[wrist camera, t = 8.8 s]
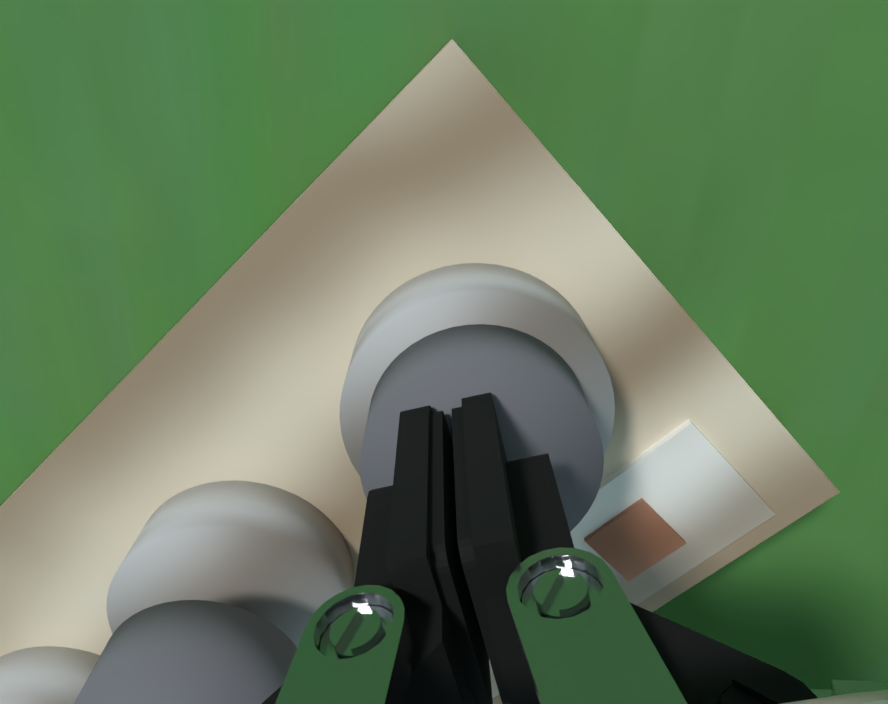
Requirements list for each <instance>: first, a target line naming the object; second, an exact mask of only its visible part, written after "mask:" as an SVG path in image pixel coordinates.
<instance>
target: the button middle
mask: <svg viewBox="0 0 888 704" xmlns="http://www.w3.org/2000/svg"><path fill="white" fill-rule="evenodd" d="M296 649H297V647H296V646H295V644H294V643H293V642H292V640H291V639H290V638H289V637H288V636H287V635H286V634H285V633H284V632H282V631H281V630H280V629H279V628H277V627H276V626H275V625H274V624H272V623H270V622H269V621H267V620H266V619H264V618H262V617H260V616H258V615H256V614H254V613H252V612H250V611H247V610H245V609H242V608H239V607H236V606H233V605H229V604H225V603H220V602H214V601H206V600H179V601H171V602H165V603H161V604H157V605H154V606H151V607H149V608H146V609H143V610H141V611H139V612H138V613H136V614H134V615H132V616H131V617H129V618H128V619H127V620H125V621H124V622H123V623H122V624H121V625H120V626H119V627H118V628H117V629H116V630H115V632H114V633H113V634H112V636H111V637H110V639H109V641H108V643H107V644H106V646H105V648H104V650H103V652H102V653H101V655H100V657H99V659H98V661H97V662H96V664H95V666H94V668H93V670H92V671H91V673H90V675H89V677H88V679H87V680H86V682H85V684H84V686H83V688H82V689H81V691H80V693H79V695H78V697H77V698H76V700H75V702H74V704H261V703H263V702H264V701H265V700H266V699H267V698H268V697H269V696H270V695H272V694H273V693H274V692H275V691H276V690H277V689H278V688H279V687H281V686H282V685H283V683H284V680H285V677H286V675H287V672H288V670H289V667H290V665H291V662H292V660H293V657H294V655H295V652H296Z"/></svg>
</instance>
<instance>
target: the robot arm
mask: <svg viewBox="0 0 888 704" xmlns="http://www.w3.org/2000/svg"><path fill="white" fill-rule="evenodd" d="M461 402H462V407H457V408H452V410H451V411H452V434H453V443H452V439H451V436H450V432H449V428H448V425H447V421H446V417H445V414H444V412H443V411H438V412H434V413H433V411H432V408H431V406H430V405H429V406H424V407H420V408H415V409H410V410H406V411H401V412H400V417H399V427H398V438H397V448H396V458H395V469H394V479H393V485H391V486H387V487H382V488H377V489H372V490H370V491H369V493H368V496H367V502H366V509H365V516H364V522H363V529H362V536H361V542H360V549H359V556H358V563H357V569H356V576H355V583H354V587H353V588H350V589H347V590H345V591H343V592H340V593H338V594H336V595H335V596H333V597H332V598H330V599H329V600H327V601H326V602H324V603H323V604H322V605H321V606H320V607H319V608H318V609H317V610H316V611H315V613H314V614H313V615H312V616H311V618H310V620H309V622H308V623H307V625H306V627H305V629H304V632H303V634H302V637H301V639H300V642H299V644H298V647H297V649H296V652H295V655H294V657H293V660H292V662H291V665H290V667H289V670H288V672H287V675H286V677H285V680H284V683H283V685H282V686H281V687H279V688H278V689H277V690H276V691H275V692H274V693H273V694H272V695H270V696H269V697H268V698H267V699H266V700H265V701H264V702H263V703H261V704H493V700H492V688H491V676H490V665H489V660H490V663H491V667H492V670H493V674H494V677H495V681H496V684H497V687H498V691H499V694H500V698H501V701H502V704H888V681H856V680H831V690H829V689H809V688H808V687H807V686H806V685H805V684H804V683H802V682H801V681H799V680H798V679H796V678H794V677H792V676H791V675H789V674H787V673H786V672H784V671H782V670H780V669H778V668H775V667H773V666H771V665H769V664H766V663H764V662H762V661H760V660H758V659H755V658H753V657H751V656H749V655H746V654H744V653H742V652H740V651H737V650H735V649H733V648H731V647H728V646H726V645H724V644H722V643H720V642H717V641H715V640H713V639H711V638H708V637H706V636H704V635H702V634H699V633H697V632H695V631H693V630H690V629H688V628H686V627H684V626H682V625H679V624H677V623H675V622H673V621H670V620H668V619H666V618H664V617H661V616H659V615H657V614H655V613H652V612H650V611H648V610H646V609H644V608H641V607H639V606H637V605H635V604H632V603H630V602H629V600H628V599H627V597H626V595H625V593H624V592H623V590H622V588H621V586H620V585H619V583H618V581H617V579H616V577H615V576H614V574H613V572H612V570H611V569H610V568H609V567H608V565H607V564H606V563H605V562H604V561H603V560H602V559H601V558H599V557H598V556H596V555H594V554H593V553H591V552H588V551H585V550H581V549H577V548H574V545H573V541H572V537H571V534H570V530H569V526H568V523H567V519H566V516H565V512H564V508H563V505H562V501H561V497H560V494H559V490H558V487H557V483H556V479H555V476H554V472H553V468H552V465H551V461H550V458H549V454H548V453H547V454H542V455H537V456H532V457H527V458H522V459H518V460H513V461H508V462H507V458H506V453H505V449H504V445H503V441H502V437H501V432H500V428H499V424H498V420H497V415H496V411H495V407H494V403H493V399H492V394H491V392H489V393H485V394H480V395H475V396H471V397H466V398H462V399H461Z"/></svg>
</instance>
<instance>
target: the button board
mask: <svg viewBox="0 0 888 704" xmlns="http://www.w3.org/2000/svg"><path fill="white" fill-rule="evenodd" d="M473 324H487V325H498V326H503V327H508V328H513V329H516V330H519V331H521V332H524V333H527V334H529V335H531V336H533V337H535V338H537V339H539V340H541V341H542V342H544V343H545V344H547V345H548V346H550V347H551V348H552V349H553V350H555V351H556V352H557V353H558V354H559V355H560V356H561V357H562V358H563V359H564V360H565V361H566V363H567V364H568V365H569V366H570V367H571V369H572V371H573V372H574V374H575V376H576V377H577V379H578V381H579V384H580V386H581V388H582V391H583V393H584V396H585V398H586V401H587V403H588V405H589V408H590V410H591V413H592V415H593V418H594V420H595V423H596V425H597V428H598V430H599V433H600V437H601V441H602V445H603V453H604V468H603V476H602V480H601V485H600V488H599V490H598V493H597V496H596V498H595V500H594V502H593V504H592V506H591V507H590V509H589V511H588V512H587V513H586V515H585V516H584V517H583V519H582V520H581V521H580V523H579V524H578V525H577V526H576V527H575V528H574V529H573V530H572V531H571V532H570V534H571V537H572V541H573V545H574V548H577V549H581V550H585V551H588V552H591V553H593V554H594V555H596V556H598V557H599V558H601V559H602V560H603V561H604V562H605V563H606V564H607V565H608V567H609V568H610V569H611V570H612V572H613V574H614V576H615V577H616V579H617V581H618V583H619V585H620V586H621V588H622V590H623V592H624V593H625V595H626V597H627V599H628V600H629V602H630V603H632V604H635V605H637V606H639V607H641V608H644V609H646V610H648V611H650V612H653V611H655V610H657V609H658V608H660V607H661V606H663V605H664V604H666V603H667V602H669V601H671V600H672V599H674V598H675V597H677V596H678V595H680V594H682V593H683V592H685V591H686V590H688V589H689V588H691V587H692V586H694V585H696V584H697V583H699V582H700V581H702V580H703V579H705V578H707V577H708V576H710V575H711V574H713V573H714V572H716V571H717V570H719V569H721V568H722V567H724V566H725V565H727V564H728V563H730V562H732V561H733V560H735V559H736V558H738V557H739V556H741V555H743V554H744V553H746V552H747V551H749V550H750V549H752V548H753V547H755V546H757V545H758V544H760V543H761V542H763V541H764V540H766V539H768V538H769V537H771V536H772V535H774V534H775V533H777V532H778V531H780V530H782V529H783V528H785V527H786V526H788V525H789V524H791V523H793V522H794V521H796V520H797V519H799V518H800V517H802V516H803V515H805V514H807V513H808V512H810V511H811V510H813V509H814V508H816V507H818V506H819V505H821V504H822V503H824V502H825V501H827V500H829V499H830V498H832V497H833V496H835V495H836V494H838V493H839V491H838V489H837V488H836V487H835V486H834V485H833V484H832V482H831V481H830V480H829V479H828V478H827V477H826V475H825V474H824V473H823V472H822V471H821V470H820V468H819V467H818V466H817V465H816V464H815V463H814V461H813V460H812V459H811V458H810V457H809V456H808V454H807V453H806V452H805V451H804V450H803V449H802V447H801V446H800V445H799V444H798V443H797V442H796V440H795V439H794V438H793V437H792V436H791V435H790V433H789V432H788V431H787V430H786V429H785V428H784V426H783V425H782V424H781V423H780V422H779V420H778V419H777V418H776V417H775V416H774V415H773V413H772V412H771V411H770V410H769V409H768V408H767V406H766V405H765V404H764V403H763V402H762V401H761V399H760V398H759V397H758V396H757V395H756V394H755V392H754V391H753V390H752V389H751V388H750V387H749V385H748V384H747V383H746V382H745V381H744V380H743V378H742V377H741V376H740V375H739V374H738V373H737V371H736V370H735V369H734V368H733V367H732V366H731V364H730V363H729V362H728V361H727V360H726V359H725V357H724V356H723V355H722V354H721V353H720V352H719V350H718V349H717V348H716V347H715V346H714V345H713V343H712V342H711V341H710V340H709V339H708V337H707V336H706V335H705V334H704V333H703V332H702V330H701V329H700V328H699V327H698V326H697V325H696V323H695V322H694V321H693V320H692V319H691V318H690V316H689V315H688V314H687V313H686V312H685V311H684V309H683V308H682V307H681V306H680V305H679V304H678V302H677V301H676V300H675V299H674V298H673V297H672V295H671V294H670V293H669V292H668V291H667V290H666V288H665V287H664V286H663V285H662V284H661V283H660V281H659V280H658V279H657V278H656V277H655V276H654V274H653V273H652V272H651V271H650V270H649V269H648V267H647V266H646V265H645V264H644V263H643V261H642V260H641V259H640V258H639V257H638V256H637V254H636V253H635V252H634V251H633V250H632V249H631V247H630V246H629V245H628V244H627V243H626V242H625V240H624V239H623V238H622V237H621V236H620V235H619V233H618V232H617V231H616V230H615V229H614V228H613V226H612V225H611V224H610V223H609V222H608V221H607V219H606V218H605V217H604V216H603V215H602V214H601V212H600V211H599V210H598V209H597V208H596V207H595V205H594V204H593V203H592V202H591V201H590V200H589V198H588V197H587V196H586V195H585V194H584V193H583V191H582V190H581V189H580V188H579V187H578V185H577V184H576V183H575V182H574V181H573V180H572V178H571V177H570V176H569V175H568V174H567V173H566V171H565V170H564V169H563V168H562V167H561V166H560V164H559V163H558V162H557V161H556V160H555V159H554V157H553V156H552V155H551V154H550V153H549V152H548V150H547V149H546V148H545V147H544V146H543V145H542V143H541V142H540V141H539V140H538V139H537V138H536V136H535V135H534V134H533V133H532V132H531V131H530V129H529V128H528V127H527V126H526V125H525V124H524V122H523V121H522V120H521V119H520V118H519V117H518V115H517V114H516V113H515V112H514V111H513V109H512V108H511V107H510V106H509V105H508V104H507V102H506V101H505V100H504V99H503V98H502V97H501V95H500V94H499V93H498V92H497V91H496V90H495V88H494V87H493V86H492V85H491V84H490V83H489V81H488V80H487V79H486V78H485V77H484V76H483V74H482V73H481V72H480V71H479V70H478V69H477V67H476V66H475V65H474V64H473V63H472V62H471V60H470V59H469V58H468V57H467V56H466V55H465V53H464V52H463V51H462V50H461V49H460V48H459V46H458V45H457V44H456V43H455V42H454V41H453V39H452V40H450V41H449V42H448V43H447V44H446V45H445V46H444V47H443V48H442V49H441V50H440V51H439V52H438V53H437V54H436V55H435V57H434V58H433V59H432V60H431V61H430V62H429V63H428V64H427V65H426V66H425V67H424V68H423V69H422V70H421V71H420V72H419V73H418V74H417V75H416V76H415V77H414V78H413V79H412V80H411V81H410V82H409V83H408V85H407V86H406V87H405V88H404V89H403V90H402V91H401V92H400V93H399V94H398V95H397V96H396V97H395V98H394V99H393V100H392V101H391V102H390V103H389V104H388V105H387V106H386V107H385V108H384V109H383V110H382V111H381V112H380V114H379V115H378V116H377V117H376V118H375V119H374V120H373V121H372V122H371V123H370V124H369V125H368V126H367V127H366V128H365V129H364V130H363V131H362V132H361V133H360V134H359V135H358V136H357V137H356V138H355V139H354V140H353V142H352V143H351V144H350V145H349V146H348V147H347V148H346V149H345V150H344V151H343V152H342V153H341V154H340V155H339V156H338V157H337V158H336V159H335V160H334V161H333V162H332V163H331V164H330V165H329V166H328V167H327V168H326V169H325V171H324V172H323V173H322V174H321V175H320V176H319V177H318V178H317V179H316V180H315V181H314V182H313V183H312V184H311V185H310V186H309V187H308V188H307V189H306V190H305V191H304V192H303V193H302V194H301V195H300V196H299V197H298V199H297V200H296V201H295V202H294V203H293V204H292V205H291V206H290V207H289V208H288V209H287V210H286V211H285V212H284V213H283V214H282V215H281V216H280V217H279V218H278V219H277V220H276V221H275V222H274V223H273V224H272V225H271V226H270V228H269V229H268V230H267V231H266V232H265V233H264V234H263V235H262V236H261V237H260V238H259V239H258V240H257V241H256V242H255V243H254V244H253V245H252V246H251V247H250V248H249V249H248V250H247V251H246V252H245V253H244V254H243V256H242V257H241V258H240V259H239V260H238V261H237V262H236V263H235V264H234V265H233V266H232V267H231V268H230V269H229V270H228V271H227V272H226V273H225V274H224V275H223V276H222V277H221V278H220V279H219V280H218V281H217V282H216V283H215V285H214V286H213V287H212V288H211V289H210V290H209V291H208V292H207V293H206V294H205V295H204V296H203V297H202V298H201V299H200V300H199V301H198V302H197V303H196V304H195V305H194V306H193V307H192V308H191V309H190V310H189V311H188V313H187V314H186V315H185V316H184V317H183V318H182V319H181V320H180V321H179V322H178V323H177V324H176V325H175V326H174V327H173V328H172V329H171V330H170V331H169V332H168V333H167V334H166V335H165V336H164V337H163V338H162V339H161V340H160V342H159V343H158V344H157V345H156V346H155V347H154V348H153V349H152V350H151V351H150V352H149V353H148V354H147V355H146V356H145V357H144V358H143V359H142V360H141V361H140V362H139V363H138V364H137V365H136V366H135V367H134V368H133V369H132V371H131V372H130V373H129V374H128V375H127V376H126V377H125V378H124V379H123V380H122V381H121V382H120V383H119V384H118V385H117V386H116V387H115V388H114V389H113V390H112V391H111V392H110V393H109V394H108V395H107V396H106V397H105V399H104V400H103V401H102V402H101V403H100V404H99V405H98V406H97V407H96V408H95V409H94V410H93V411H92V412H91V413H90V414H89V415H88V416H87V417H86V418H85V419H84V420H83V421H82V422H81V423H80V424H79V425H78V426H77V428H76V429H75V430H74V431H73V432H72V433H71V434H70V435H69V436H68V437H67V438H66V439H65V440H64V441H63V442H62V443H61V444H60V445H59V446H58V447H57V448H56V449H55V450H54V451H53V452H52V453H51V454H50V456H49V457H48V458H47V459H46V460H45V461H44V462H43V463H42V464H41V465H40V466H39V467H38V468H37V469H36V470H35V471H34V472H33V473H32V474H31V475H30V476H29V477H28V478H27V479H26V480H25V481H24V482H23V483H22V485H21V486H20V487H19V488H18V489H17V490H16V491H15V492H14V493H13V494H12V495H11V496H10V497H9V498H8V499H7V500H6V501H5V502H4V503H3V504H2V505H1V506H0V704H74V702H75V700H76V698H77V697H78V695H79V693H80V691H81V689H82V688H83V686H84V684H85V682H86V680H87V679H88V677H89V675H90V673H91V671H92V670H93V668H94V666H95V664H96V662H97V661H98V659H99V657H100V655H101V653H102V652H103V650H104V648H105V646H106V644H107V643H108V641H109V639H110V637H111V636H112V634H113V633H114V632H115V630H116V629H117V628H118V627H119V626H120V625H121V624H122V623H123V622H124V621H125V620H127V619H128V618H129V617H131V616H132V615H134V614H136V613H138V612H139V611H141V610H143V609H146V608H149V607H151V606H154V605H157V604H161V603H165V602H171V601H179V600H206V601H214V602H220V603H225V604H229V605H233V606H236V607H239V608H242V609H245V610H247V611H250V612H252V613H254V614H256V615H258V616H260V617H262V618H264V619H266V620H267V621H269V622H270V623H272V624H274V625H275V626H276V627H277V628H279V629H280V630H281V631H282V632H284V633H285V634H286V635H287V636H288V637H289V638H290V639H291V640H292V642H293V643H294V644H295V646H296V647H298V644H299V642H300V639H301V637H302V634H303V632H304V629H305V627H306V625H307V623H308V622H309V620H310V618H311V616H312V615H313V614H314V613H315V611H316V610H317V609H318V608H319V607H320V606H321V605H322V604H323V603H324V602H326V601H327V600H329V599H330V598H332V597H333V596H335V595H336V594H338V593H340V592H343V591H345V590H347V589H350V588H353V587H354V583H355V576H356V569H357V563H358V556H359V549H360V542H361V536H362V529H363V522H364V516H365V509H366V502H367V499H366V497H365V494H364V491H363V487H362V483H361V476H360V453H361V448H362V443H363V438H364V433H365V428H366V423H367V418H368V413H369V408H370V403H371V398H372V395H373V393H374V390H375V387H376V385H377V383H378V381H379V379H380V378H381V376H382V374H383V373H384V371H385V370H386V369H387V367H388V366H389V365H390V363H391V362H392V361H393V360H394V359H395V358H396V357H397V356H398V355H399V354H400V353H401V352H403V351H404V350H405V349H407V348H408V347H409V346H410V345H412V344H413V343H415V342H417V341H419V340H420V339H422V338H424V337H426V336H428V335H431V334H433V333H435V332H438V331H441V330H444V329H448V328H451V327H456V326H463V325H473ZM489 665H490V676H491V688H492V700H493V704H502V701H501V698H500V694H499V691H498V687H497V684H496V681H495V677H494V674H493V670H492V667H491V663H490V660H489Z"/></svg>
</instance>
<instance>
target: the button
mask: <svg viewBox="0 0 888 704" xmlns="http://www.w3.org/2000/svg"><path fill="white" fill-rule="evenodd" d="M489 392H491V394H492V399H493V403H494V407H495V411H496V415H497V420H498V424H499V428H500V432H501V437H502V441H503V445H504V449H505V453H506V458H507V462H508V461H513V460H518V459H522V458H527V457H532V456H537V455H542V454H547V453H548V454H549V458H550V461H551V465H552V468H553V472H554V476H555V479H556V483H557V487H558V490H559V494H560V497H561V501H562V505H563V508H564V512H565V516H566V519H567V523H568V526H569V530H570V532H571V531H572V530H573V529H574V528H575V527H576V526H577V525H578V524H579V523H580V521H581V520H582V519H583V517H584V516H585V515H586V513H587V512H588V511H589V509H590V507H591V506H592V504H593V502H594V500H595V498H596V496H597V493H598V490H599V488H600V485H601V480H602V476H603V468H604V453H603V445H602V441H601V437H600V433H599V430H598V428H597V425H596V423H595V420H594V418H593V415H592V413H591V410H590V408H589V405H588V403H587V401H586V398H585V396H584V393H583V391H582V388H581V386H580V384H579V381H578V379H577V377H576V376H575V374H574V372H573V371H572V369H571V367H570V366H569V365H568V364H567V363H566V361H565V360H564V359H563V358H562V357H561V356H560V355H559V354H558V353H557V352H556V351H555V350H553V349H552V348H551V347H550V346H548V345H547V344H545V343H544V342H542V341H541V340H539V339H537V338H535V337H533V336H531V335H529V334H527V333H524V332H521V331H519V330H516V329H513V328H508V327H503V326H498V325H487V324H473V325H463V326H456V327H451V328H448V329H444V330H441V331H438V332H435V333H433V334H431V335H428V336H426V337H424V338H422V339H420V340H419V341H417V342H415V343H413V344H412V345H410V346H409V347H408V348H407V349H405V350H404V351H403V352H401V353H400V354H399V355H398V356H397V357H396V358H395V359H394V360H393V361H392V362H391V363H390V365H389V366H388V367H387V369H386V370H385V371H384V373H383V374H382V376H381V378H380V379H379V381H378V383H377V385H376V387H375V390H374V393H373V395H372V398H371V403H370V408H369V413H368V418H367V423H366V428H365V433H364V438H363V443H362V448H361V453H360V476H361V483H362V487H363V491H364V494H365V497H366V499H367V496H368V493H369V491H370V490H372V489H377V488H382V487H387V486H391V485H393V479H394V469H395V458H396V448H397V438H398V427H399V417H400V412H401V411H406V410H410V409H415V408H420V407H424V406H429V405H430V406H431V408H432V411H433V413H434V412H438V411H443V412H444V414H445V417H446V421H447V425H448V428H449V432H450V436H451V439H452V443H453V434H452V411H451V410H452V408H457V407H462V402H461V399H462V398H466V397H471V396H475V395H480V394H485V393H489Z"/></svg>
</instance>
